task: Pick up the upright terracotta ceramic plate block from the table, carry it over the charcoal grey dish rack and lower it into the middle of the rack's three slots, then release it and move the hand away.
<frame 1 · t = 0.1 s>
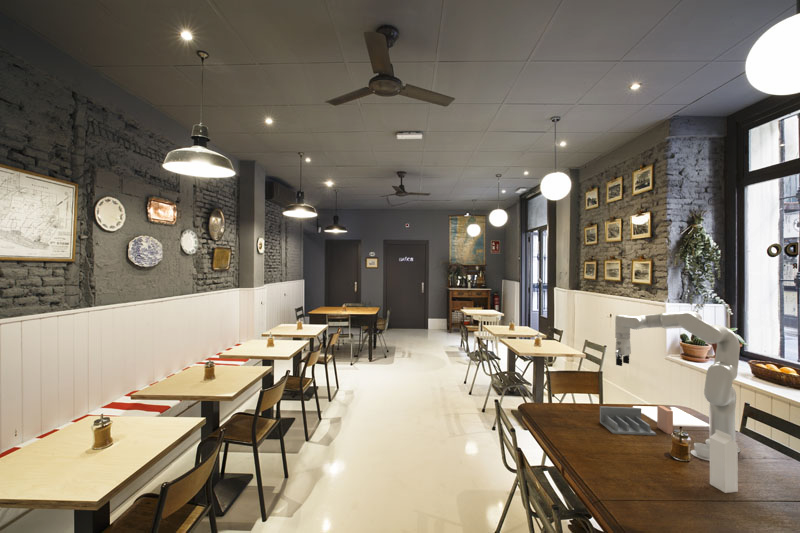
hand: (622, 364, 211), 31 cm above the table, tool pointing down, fingers open, 9 cm apart
dish rack: (626, 428, 194), on the table
milk: (723, 488, 140), on the table
plate block: (664, 430, 192), on the table
tray: (669, 417, 212), on the table
teacup: (704, 456, 165), on the table
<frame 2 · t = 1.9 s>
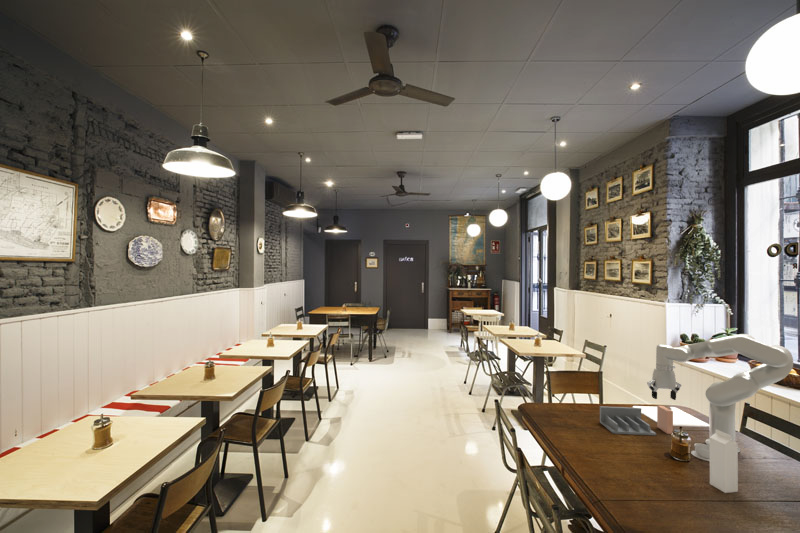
hand: (663, 398, 193), 17 cm above the table, tool pointing down, fingers open, 9 cm apart
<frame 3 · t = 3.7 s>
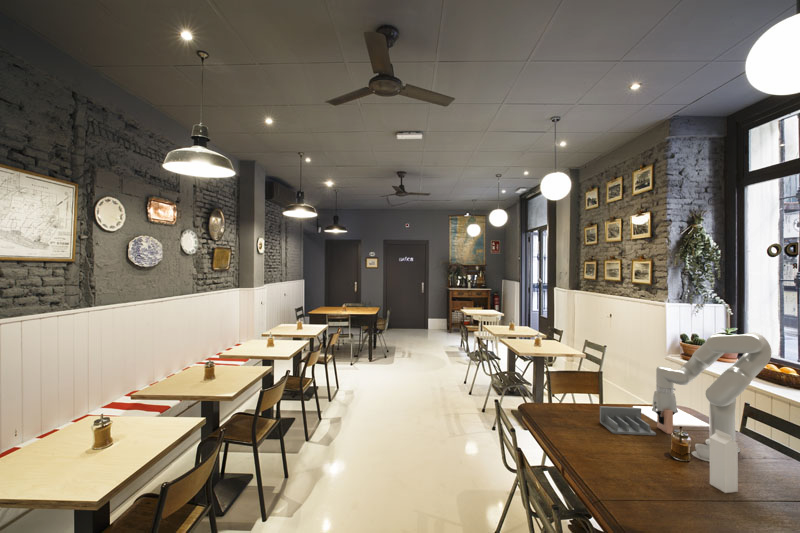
hand: (664, 423, 192), 4 cm above the table, tool pointing down, fingers closed on plate block, 3 cm apart
plate block: (664, 430, 192), on the table, touching gripper
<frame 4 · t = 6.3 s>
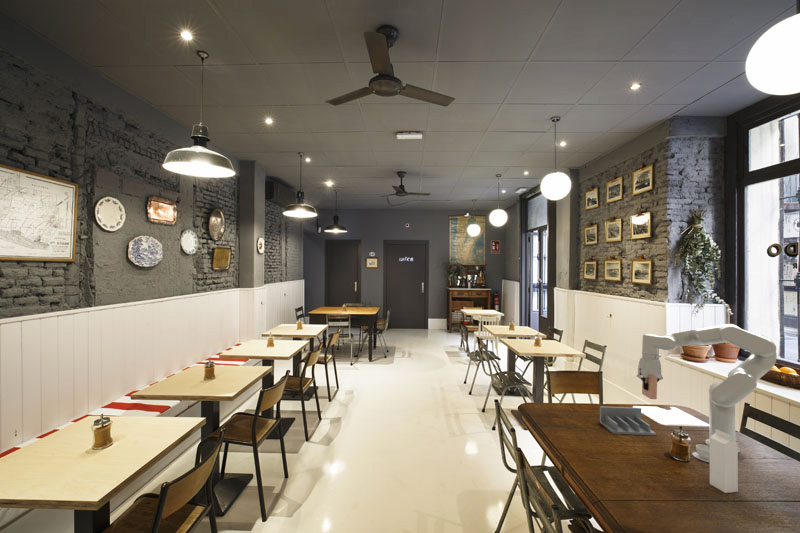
hand: (649, 389, 194), 22 cm above the table, tool pointing down, fingers closed on plate block, 3 cm apart
plate block: (649, 396, 194), point 18 cm above the table, touching gripper
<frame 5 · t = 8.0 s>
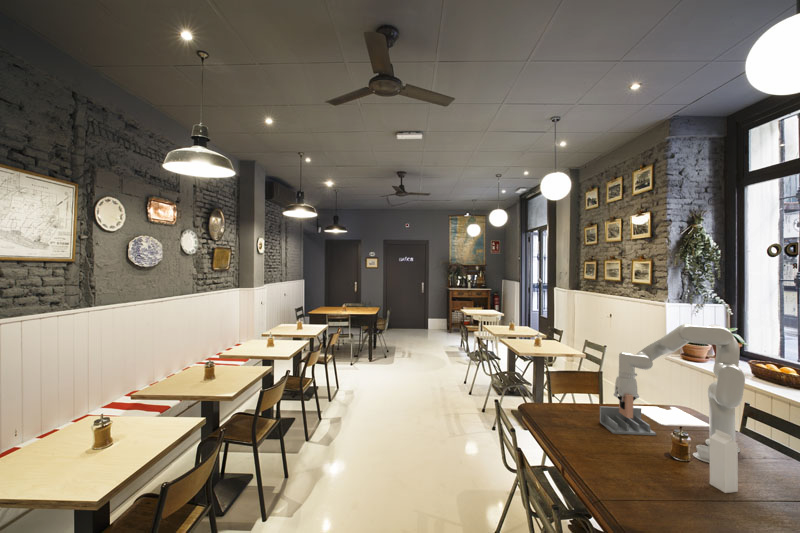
hand: (626, 408, 194), 11 cm above the table, tool pointing down, fingers closed on plate block, 3 cm apart
plate block: (625, 415, 194), point 7 cm above the table, touching gripper
when the fingers open (6 cm above the table, at t = 9.1 s): plate block drops 1 cm, resting on dish rack.
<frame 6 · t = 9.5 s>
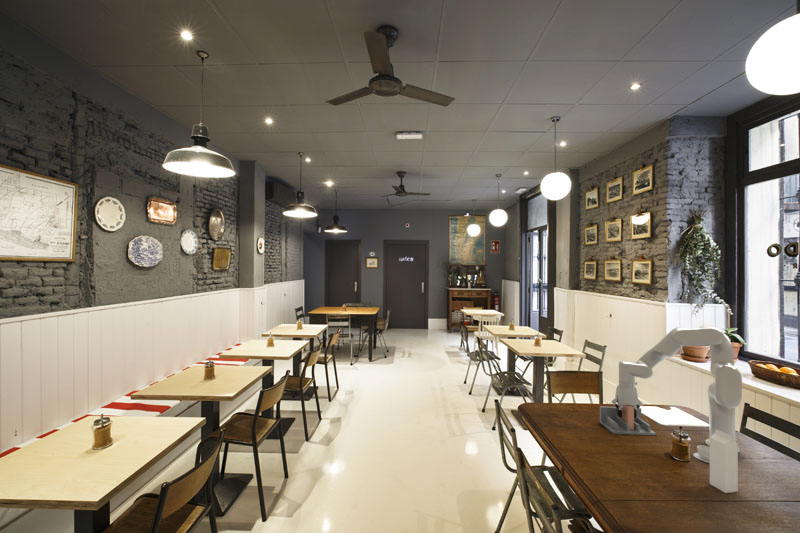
hand: (626, 416, 194), 7 cm above the table, tool pointing down, fingers open, 6 cm apart
plate block: (626, 426, 194), point 1 cm above the table, touching dish rack
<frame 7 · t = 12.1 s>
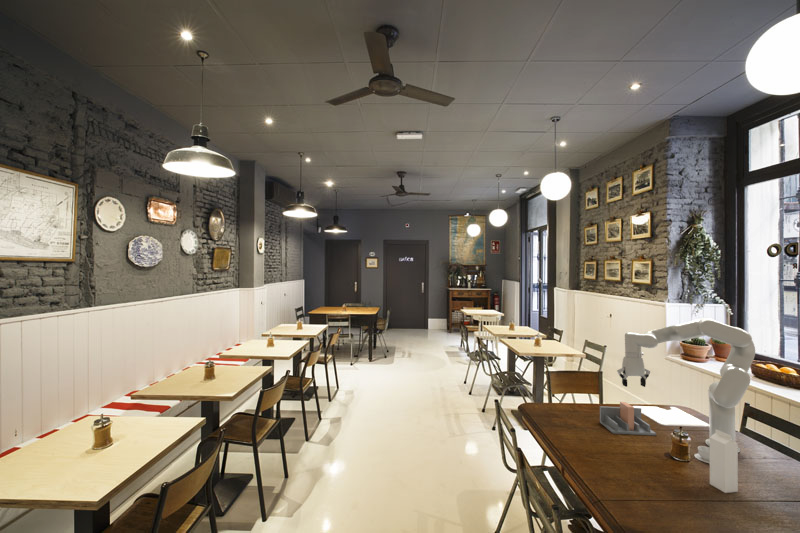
hand: (634, 386, 195), 23 cm above the table, tool pointing down, fingers open, 9 cm apart
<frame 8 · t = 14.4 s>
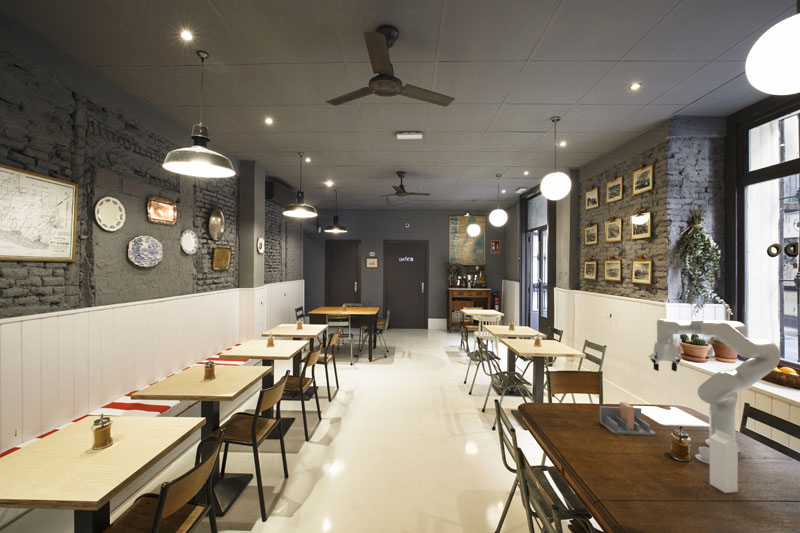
hand: (665, 370, 201), 30 cm above the table, tool pointing down, fingers open, 9 cm apart
at the end: plate block 0.0 cm off-centre on the dish rack, point 1.2 cm above the dish rack's base; plate block tilted 0°; the gripper is holding nothing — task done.
